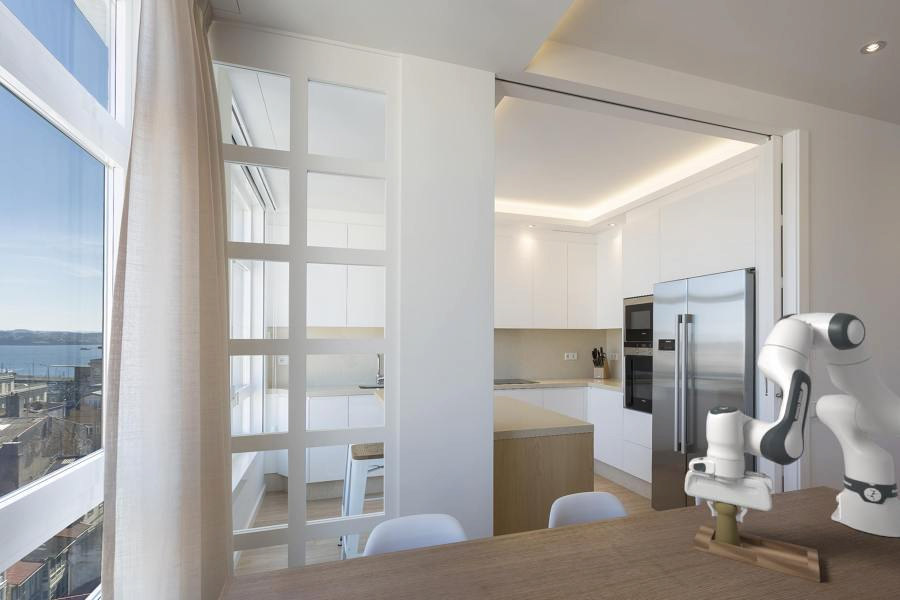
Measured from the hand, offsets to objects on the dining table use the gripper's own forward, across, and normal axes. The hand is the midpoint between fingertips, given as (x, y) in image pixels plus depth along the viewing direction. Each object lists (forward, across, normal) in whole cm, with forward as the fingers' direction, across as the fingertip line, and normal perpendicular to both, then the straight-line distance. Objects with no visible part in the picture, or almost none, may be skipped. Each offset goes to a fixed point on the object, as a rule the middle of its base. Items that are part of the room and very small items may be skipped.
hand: (727, 519), depth 122 cm
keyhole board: (+7, -6, 0) cm, 9 cm away
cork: (+7, 0, 0) cm, 7 cm away
